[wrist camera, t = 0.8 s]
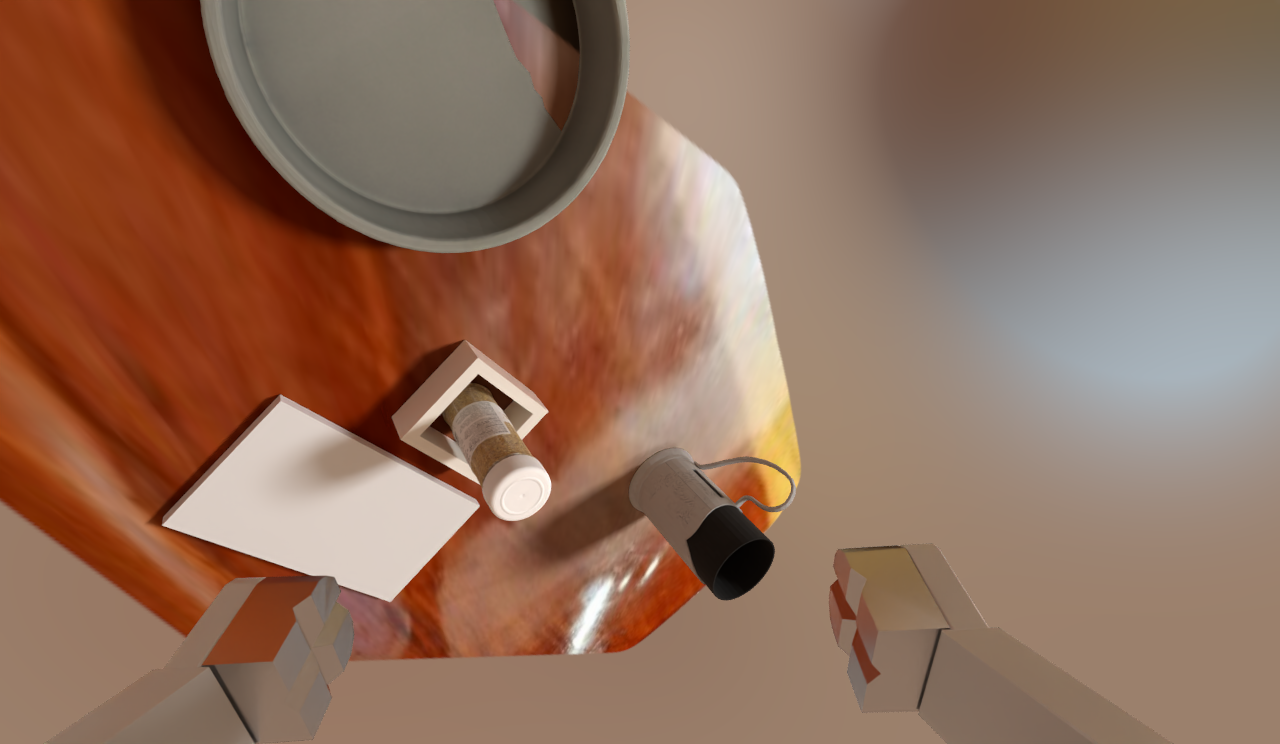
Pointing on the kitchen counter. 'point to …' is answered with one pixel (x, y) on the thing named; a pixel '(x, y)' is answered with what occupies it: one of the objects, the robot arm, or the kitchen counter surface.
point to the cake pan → (420, 110)
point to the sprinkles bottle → (497, 455)
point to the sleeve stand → (445, 388)
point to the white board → (322, 503)
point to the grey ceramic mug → (705, 520)
